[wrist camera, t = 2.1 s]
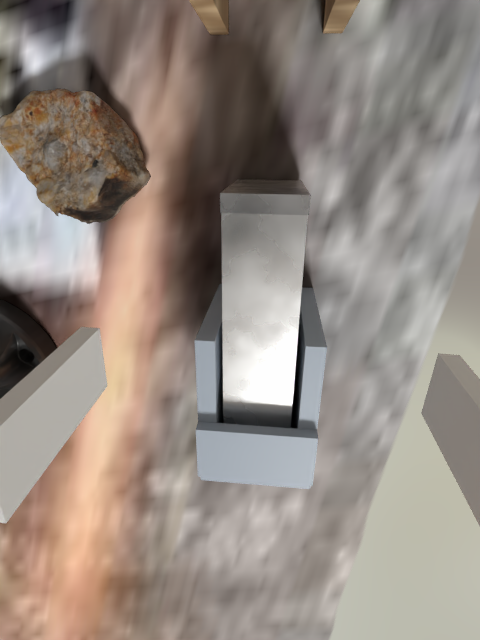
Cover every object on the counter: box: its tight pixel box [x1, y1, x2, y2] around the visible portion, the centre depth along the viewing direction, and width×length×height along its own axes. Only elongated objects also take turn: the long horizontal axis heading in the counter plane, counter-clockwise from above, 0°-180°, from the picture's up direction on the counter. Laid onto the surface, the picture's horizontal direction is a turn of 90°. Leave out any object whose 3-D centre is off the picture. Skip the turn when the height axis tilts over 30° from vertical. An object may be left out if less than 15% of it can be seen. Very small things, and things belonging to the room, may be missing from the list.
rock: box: [0, 89, 151, 224], centre depth 27 cm, size 9×6×10 cm
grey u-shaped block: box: [195, 284, 327, 489], centre depth 29 cm, size 8×11×11 cm
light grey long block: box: [220, 179, 311, 428], centre depth 27 cm, size 5×18×9 cm, turn 179°
